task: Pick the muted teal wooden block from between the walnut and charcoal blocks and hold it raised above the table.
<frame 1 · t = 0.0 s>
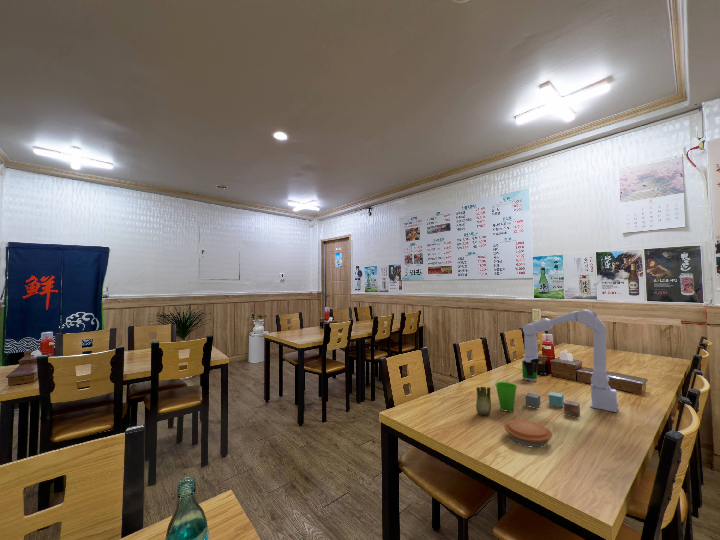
hand: (532, 373, 161), 10 cm above the table, tool pointing down, fingers open, 7 cm apart
charcoal block: (533, 406, 144), on the table
cup: (506, 410, 140), on the table
teal block: (556, 405, 145), on the table
fennel bulb: (483, 415, 135), on the table
soda can: (529, 380, 184), on the table
pie: (527, 440, 113), on the table
walnut block: (572, 414, 134), on the table
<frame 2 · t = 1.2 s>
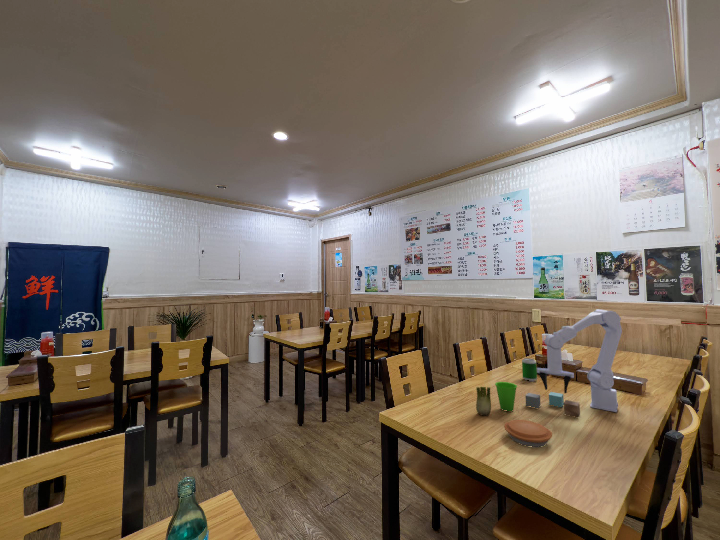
hand: (555, 390, 145), 7 cm above the table, tool pointing down, fingers open, 7 cm apart
nothing on the table moved.
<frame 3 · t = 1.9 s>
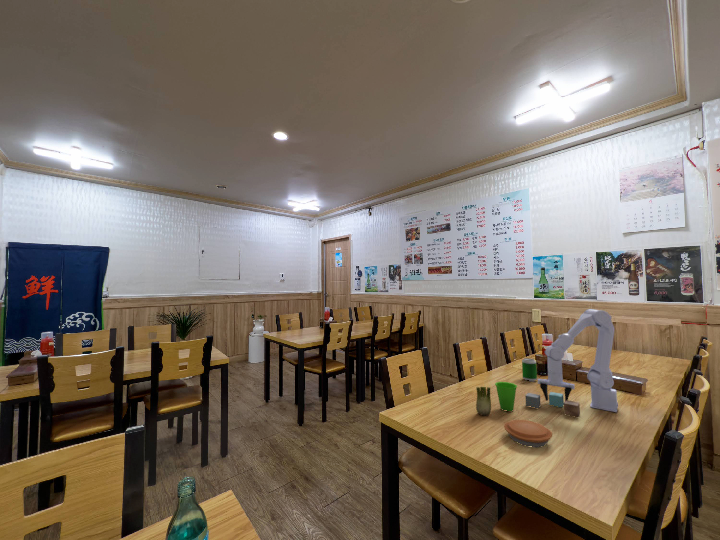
hand: (556, 402, 145), 1 cm above the table, tool pointing down, fingers open, 7 cm apart
nothing on the table moved.
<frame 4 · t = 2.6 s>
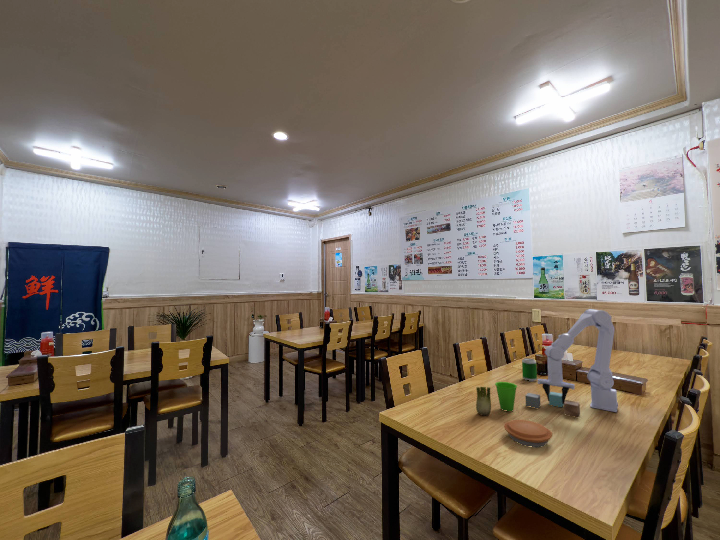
hand: (556, 402, 145), 1 cm above the table, tool pointing down, fingers closed on teal block, 5 cm apart
teal block: (556, 405, 145), on the table, touching gripper
everything else where it was.
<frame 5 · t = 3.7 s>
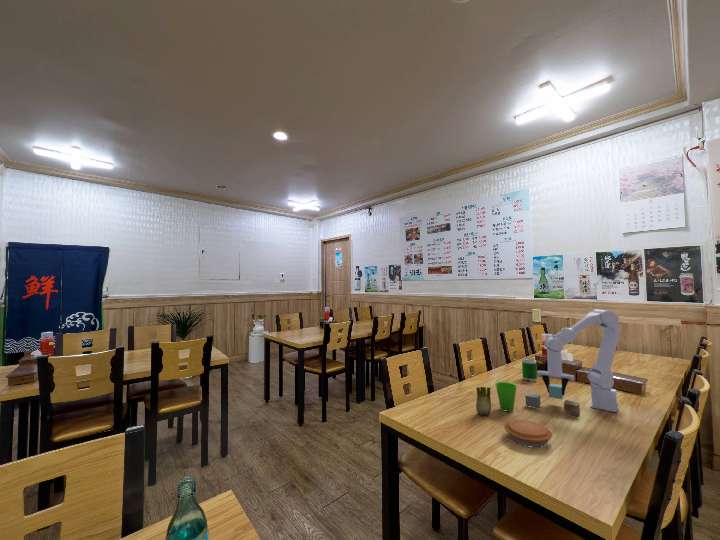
hand: (556, 393, 145), 5 cm above the table, tool pointing down, fingers closed on teal block, 5 cm apart
teal block: (556, 396, 145), point 4 cm above the table, touching gripper
everything else where it was.
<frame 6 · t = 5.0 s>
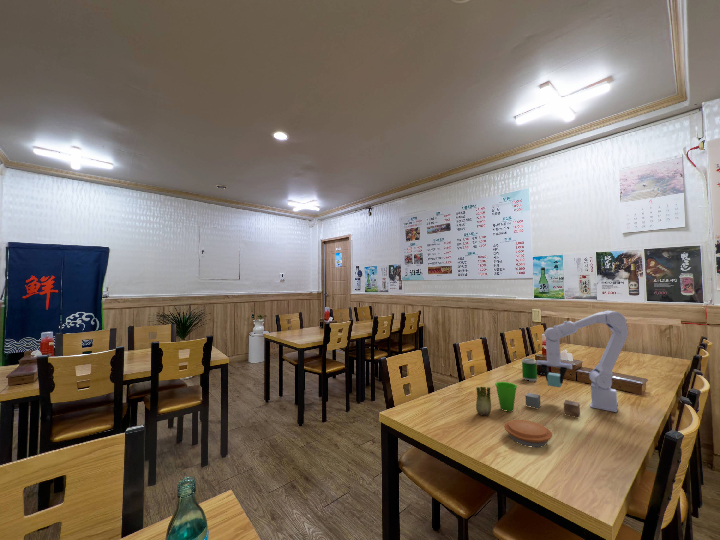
hand: (554, 382, 149), 9 cm above the table, tool pointing down, fingers closed on teal block, 5 cm apart
teal block: (554, 385, 149), point 8 cm above the table, touching gripper
everything else where it was.
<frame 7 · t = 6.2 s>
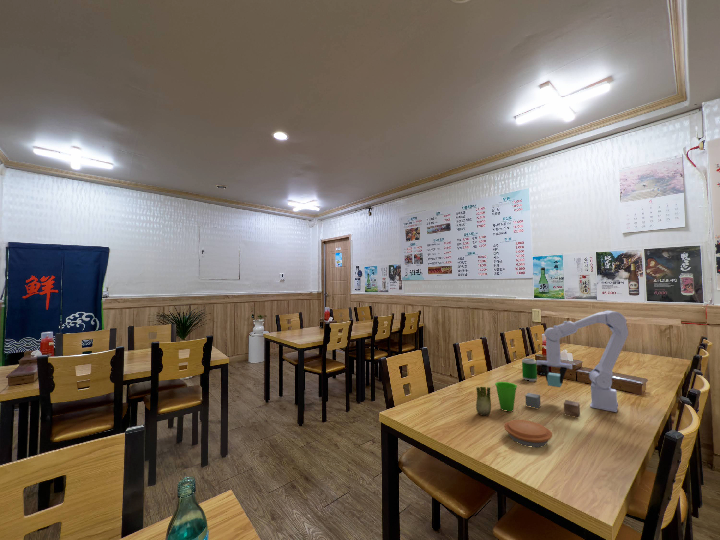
hand: (554, 382, 149), 9 cm above the table, tool pointing down, fingers closed on teal block, 5 cm apart
teal block: (554, 385, 149), point 8 cm above the table, touching gripper
everything else where it was.
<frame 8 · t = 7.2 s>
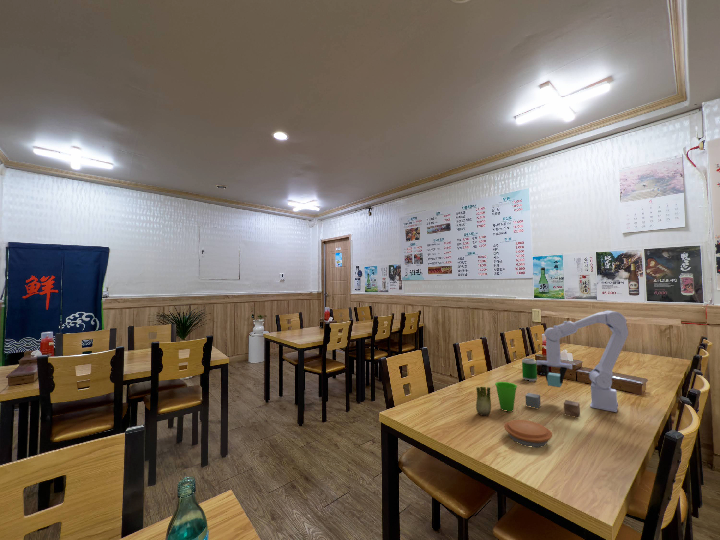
hand: (554, 382, 149), 9 cm above the table, tool pointing down, fingers closed on teal block, 5 cm apart
teal block: (554, 385, 149), point 8 cm above the table, touching gripper
everything else where it was.
at the end: the gripper is holding teal block; teal block point 8.0 cm above the table; walnut block moved 0.1 cm from its start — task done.
